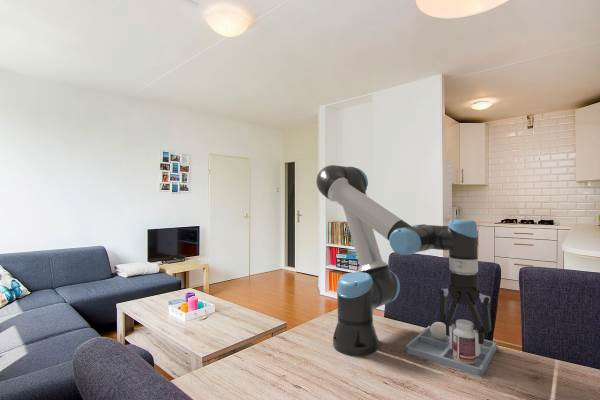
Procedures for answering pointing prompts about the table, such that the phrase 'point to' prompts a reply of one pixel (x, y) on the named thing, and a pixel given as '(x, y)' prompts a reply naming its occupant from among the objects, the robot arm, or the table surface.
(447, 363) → the divided tray
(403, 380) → the table surface
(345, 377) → the table surface
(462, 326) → the pill bottle
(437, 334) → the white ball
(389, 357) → the table surface
